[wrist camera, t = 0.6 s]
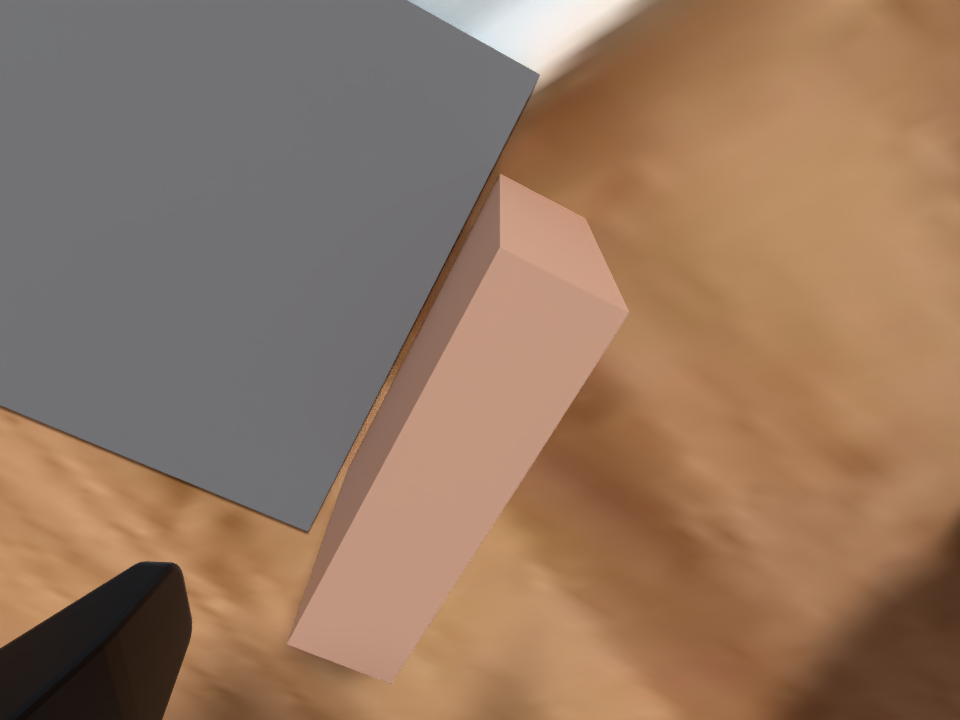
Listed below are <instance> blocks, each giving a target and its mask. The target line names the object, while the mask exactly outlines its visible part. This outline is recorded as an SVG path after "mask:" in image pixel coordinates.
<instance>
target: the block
mask: <svg viewBox="0 0 960 720" xmlns="http://www.w3.org/2000/svg"><path fill="white" fill-rule="evenodd" d="M628 314H629V311H628V309H627V307H626V305H625V302H624V300H623V298H622V296H621V294H620V292H619V290H618V287H617V285H616V283H615V281H614V279H613V277H612V275H611V272H610V270H609V268H608V266H607V264H606V262H605V260H604V257H603V255H602V253H601V251H600V249H599V247H598V245H597V242H596V240H595V238H594V236H593V234H592V232H591V230H590V227H589V225H588V223H587V221H586V219H585V218H583V217H581V216H580V215H578V214H576V213H574V212H572V211H570V210H568V209H566V208H564V207H562V206H561V205H559V204H557V203H555V202H553V201H551V200H549V199H547V198H545V197H543V196H542V195H540V194H538V193H536V192H534V191H532V190H530V189H528V188H526V187H524V186H523V185H521V184H519V183H517V182H515V181H513V180H511V179H509V178H507V177H505V176H504V175H502V174H499V176H498V178H497V180H496V182H495V184H494V186H493V188H492V190H491V192H490V194H489V196H488V198H487V200H486V202H485V204H484V205H483V207H482V209H481V211H480V213H479V215H478V217H477V219H476V221H475V223H474V225H473V227H472V229H471V231H470V233H469V235H468V237H467V239H466V241H465V242H464V244H463V246H462V248H461V250H460V252H459V254H458V256H457V258H456V260H455V262H454V264H453V266H452V268H451V270H450V272H449V274H448V276H447V278H446V279H445V281H444V283H443V285H442V287H441V289H440V291H439V293H438V295H437V297H436V299H435V301H434V303H433V305H432V307H431V309H430V311H429V313H428V314H427V316H426V318H425V320H424V322H423V324H422V326H421V328H420V330H419V332H418V334H417V336H416V338H415V340H414V342H413V344H412V346H411V348H410V350H409V351H408V353H407V355H406V357H405V359H404V361H403V363H402V365H401V367H400V369H399V371H398V373H397V375H396V377H395V379H394V381H393V383H392V385H391V386H390V388H389V390H388V392H387V394H386V396H385V398H384V400H383V402H382V404H381V406H380V408H379V410H378V412H377V414H376V416H375V418H374V420H373V422H372V423H371V425H370V427H369V429H368V431H367V433H366V435H365V437H364V439H363V441H362V443H361V445H360V447H359V449H358V451H357V453H356V455H355V457H354V459H353V460H352V462H351V464H350V466H349V468H348V471H347V474H346V476H345V479H344V482H343V485H342V488H341V491H340V494H339V496H338V499H337V502H336V505H335V508H334V511H333V514H332V516H331V519H330V522H329V525H328V528H327V531H326V534H325V536H324V539H323V542H322V545H321V548H320V551H319V554H318V556H317V559H316V562H315V565H314V568H313V571H312V574H311V576H310V579H309V582H308V585H307V588H306V591H305V593H304V596H303V599H302V602H301V605H300V608H299V611H298V613H297V616H296V619H295V622H294V625H293V628H292V631H291V633H290V636H289V639H288V642H287V645H290V646H292V647H295V648H298V649H300V650H303V651H306V652H308V653H311V654H313V655H316V656H319V657H321V658H324V659H327V660H329V661H332V662H334V663H337V664H340V665H342V666H345V667H348V668H350V669H353V670H355V671H358V672H361V673H363V674H366V675H368V676H371V677H374V678H376V679H379V680H382V681H384V682H387V683H389V684H392V682H393V681H394V679H395V677H396V676H397V674H398V673H399V671H400V670H401V668H402V667H403V665H404V663H405V662H406V660H407V659H408V657H409V656H410V654H411V652H412V651H413V649H414V648H415V646H416V645H417V643H418V642H419V640H420V638H421V637H422V635H423V634H424V632H425V631H426V629H427V628H428V626H429V624H430V623H431V621H432V620H433V618H434V617H435V615H436V613H437V612H438V610H439V609H440V607H441V606H442V604H443V603H444V601H445V599H446V598H447V596H448V595H449V593H450V592H451V590H452V589H453V587H454V585H455V584H456V582H457V581H458V579H459V578H460V576H461V574H462V573H463V571H464V570H465V568H466V567H467V565H468V564H469V562H470V560H471V559H472V557H473V556H474V554H475V553H476V551H477V550H478V548H479V546H480V545H481V543H482V542H483V540H484V539H485V537H486V536H487V534H488V532H489V531H490V529H491V528H492V526H493V525H494V523H495V521H496V520H497V518H498V517H499V515H500V514H501V512H502V511H503V509H504V507H505V506H506V504H507V503H508V501H509V500H510V498H511V497H512V495H513V493H514V492H515V490H516V489H517V487H518V486H519V484H520V482H521V481H522V479H523V478H524V476H525V475H526V473H527V472H528V470H529V468H530V467H531V465H532V464H533V462H534V461H535V459H536V458H537V456H538V454H539V453H540V451H541V450H542V448H543V447H544V445H545V444H546V442H547V440H548V439H549V437H550V436H551V434H552V433H553V431H554V429H555V428H556V426H557V425H558V423H559V422H560V420H561V419H562V417H563V415H564V414H565V412H566V411H567V409H568V408H569V406H570V405H571V403H572V401H573V400H574V398H575V397H576V395H577V394H578V392H579V390H580V389H581V387H582V386H583V384H584V383H585V381H586V380H587V378H588V376H589V375H590V373H591V372H592V370H593V369H594V367H595V366H596V364H597V362H598V361H599V359H600V358H601V356H602V355H603V353H604V351H605V350H606V348H607V347H608V345H609V344H610V342H611V341H612V339H613V337H614V336H615V334H616V333H617V331H618V330H619V328H620V327H621V325H622V323H623V322H624V320H625V319H626V317H627V316H628Z"/></svg>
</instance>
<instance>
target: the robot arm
mask: <svg viewBox="0 0 960 720" xmlns="http://www.w3.org/2000/svg"><path fill="white" fill-rule="evenodd" d="M191 633H192V617H191V612H190V607H189V602H188V597H187V592H186V587H185V582H184V577H183V573H182V570H181V569H180V567H179V566H178V565H177V564H174V563H170V562H147V561H146V562H140V563H137V564H135V565H133V566H132V567H130V568H129V569H127V570H125V571H124V572H122V573H120V574H119V575H117V576H116V577H114V578H112V579H111V580H109V581H108V582H106V583H104V584H103V585H101V586H100V587H98V588H96V589H95V590H93V591H92V592H90V593H88V594H87V595H85V596H84V597H82V598H80V599H79V600H77V601H76V602H74V603H72V604H71V605H69V606H68V607H66V608H64V609H63V610H61V611H60V612H58V613H56V614H55V615H53V616H51V617H50V618H48V619H47V620H45V621H43V622H42V623H40V624H39V625H37V626H35V627H34V628H32V629H31V630H29V631H27V632H26V633H24V634H23V635H21V636H19V637H18V638H16V639H15V640H13V641H11V642H10V643H8V644H7V645H5V646H3V647H2V648H0V720H162V719H163V716H164V713H165V710H166V708H167V705H168V702H169V699H170V696H171V693H172V691H173V688H174V685H175V682H176V679H177V676H178V673H179V671H180V668H181V665H182V662H183V659H184V656H185V654H186V651H187V648H188V645H189V642H190V638H191Z"/></svg>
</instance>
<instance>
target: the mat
mask: <svg viewBox="0 0 960 720" xmlns="http://www.w3.org/2000/svg"><path fill="white" fill-rule="evenodd" d="M539 76H540V75H539V74H538V73H536V72H534V71H532V70H531V69H529V68H527V67H525V66H523V65H522V64H520V63H518V62H516V61H514V60H513V59H511V58H509V57H507V56H506V55H504V54H502V53H500V52H498V51H497V50H495V49H493V48H491V47H489V46H488V45H486V44H484V43H482V42H480V41H479V40H477V39H475V38H473V37H472V36H470V35H468V34H466V33H464V32H463V31H461V30H459V29H457V28H455V27H454V26H452V25H450V24H448V23H446V22H445V21H443V20H441V19H439V18H438V17H436V16H434V15H432V14H430V13H429V12H427V11H425V10H423V9H421V8H420V7H418V6H416V5H414V4H412V3H411V2H409V1H407V0H0V405H1V406H3V407H6V408H8V409H10V410H13V411H15V412H18V413H20V414H23V415H25V416H27V417H30V418H32V419H35V420H37V421H40V422H42V423H44V424H47V425H49V426H52V427H54V428H57V429H59V430H62V431H64V432H66V433H69V434H71V435H74V436H76V437H79V438H81V439H83V440H86V441H88V442H91V443H93V444H96V445H98V446H100V447H103V448H105V449H108V450H110V451H113V452H115V453H118V454H120V455H122V456H125V457H127V458H130V459H132V460H135V461H137V462H139V463H142V464H144V465H147V466H149V467H152V468H154V469H156V470H159V471H161V472H164V473H166V474H169V475H171V476H173V477H176V478H178V479H181V480H183V481H186V482H188V483H191V484H193V485H195V486H198V487H200V488H203V489H205V490H208V491H210V492H212V493H215V494H217V495H220V496H222V497H225V498H227V499H229V500H232V501H234V502H237V503H239V504H242V505H244V506H246V507H249V508H251V509H254V510H256V511H259V512H261V513H264V514H266V515H268V516H271V517H273V518H276V519H278V520H281V521H283V522H285V523H288V524H290V525H293V526H295V527H298V528H300V529H302V530H305V531H307V532H308V531H309V529H310V527H311V525H312V523H313V521H314V519H315V517H316V515H317V513H318V511H319V509H320V507H321V505H322V503H323V501H324V499H325V497H326V495H327V493H328V491H329V489H330V487H331V485H332V483H333V481H334V479H335V477H336V476H337V474H338V472H339V470H340V468H341V466H342V464H343V462H344V460H345V458H346V456H347V454H348V452H349V450H350V448H351V446H352V444H353V442H354V440H355V438H356V436H357V434H358V432H359V430H360V428H361V426H362V424H363V422H364V420H365V418H366V416H367V414H368V413H369V411H370V409H371V407H372V405H373V403H374V401H375V399H376V397H377V395H378V393H379V391H380V389H381V387H382V385H383V383H384V381H385V379H386V377H387V375H388V373H389V371H390V369H391V367H392V365H393V363H394V361H395V359H396V357H397V355H398V353H399V351H400V350H401V348H402V346H403V344H404V342H405V340H406V338H407V336H408V334H409V332H410V330H411V328H412V326H413V324H414V322H415V320H416V318H417V316H418V314H419V312H420V310H421V308H422V306H423V304H424V302H425V300H426V298H427V296H428V294H429V292H430V290H431V288H432V287H433V285H434V283H435V281H436V279H437V277H438V275H439V273H440V271H441V269H442V267H443V265H444V263H445V261H446V259H447V257H448V255H449V253H450V251H451V249H452V247H453V245H454V243H455V241H456V239H457V237H458V235H459V233H460V231H461V229H462V227H463V225H464V224H465V222H466V220H467V218H468V216H469V214H470V212H471V210H472V208H473V206H474V204H475V202H476V200H477V198H478V196H479V194H480V192H481V190H482V188H483V186H484V184H485V182H486V180H487V178H488V176H489V174H490V172H491V170H492V168H493V166H494V164H495V162H496V161H497V159H498V157H499V155H500V153H501V151H502V149H503V147H504V145H505V143H506V141H507V139H508V137H509V135H510V133H511V131H512V129H513V127H514V125H515V123H516V121H517V119H518V117H519V115H520V113H521V111H522V109H523V107H524V105H525V103H526V101H527V99H528V98H529V96H530V94H531V92H532V90H533V88H534V86H535V84H536V82H537V80H538V78H539Z"/></svg>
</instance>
